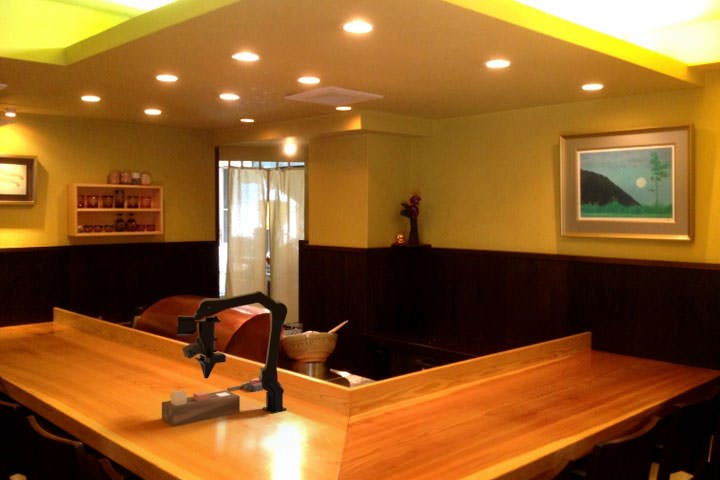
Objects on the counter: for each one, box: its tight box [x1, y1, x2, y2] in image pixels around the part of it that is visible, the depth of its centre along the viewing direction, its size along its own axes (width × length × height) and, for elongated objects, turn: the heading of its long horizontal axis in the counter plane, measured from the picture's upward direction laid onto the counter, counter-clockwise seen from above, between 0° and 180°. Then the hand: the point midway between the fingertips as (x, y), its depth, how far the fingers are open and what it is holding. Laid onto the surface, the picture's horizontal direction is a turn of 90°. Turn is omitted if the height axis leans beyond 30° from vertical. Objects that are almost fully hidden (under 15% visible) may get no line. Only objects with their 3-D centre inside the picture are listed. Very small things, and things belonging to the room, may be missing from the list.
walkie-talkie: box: [226, 377, 264, 393], centre depth 282 cm, size 9×4×20 cm
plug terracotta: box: [192, 390, 210, 402], centre depth 246 cm, size 4×4×6 cm
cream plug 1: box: [170, 389, 187, 406], centre depth 241 cm, size 4×4×6 cm
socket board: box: [161, 389, 241, 427], centre depth 246 cm, size 10×25×6 cm, turn 129°
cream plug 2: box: [215, 392, 231, 397], centre depth 252 cm, size 4×4×6 cm
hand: (206, 378), depth 247 cm, fingers closed
